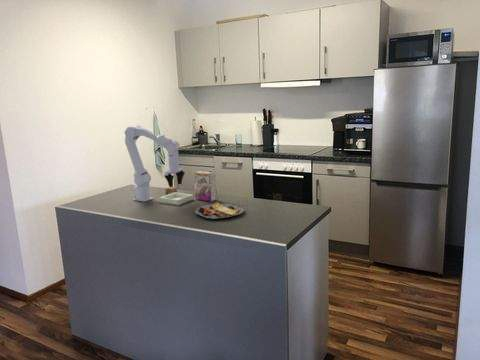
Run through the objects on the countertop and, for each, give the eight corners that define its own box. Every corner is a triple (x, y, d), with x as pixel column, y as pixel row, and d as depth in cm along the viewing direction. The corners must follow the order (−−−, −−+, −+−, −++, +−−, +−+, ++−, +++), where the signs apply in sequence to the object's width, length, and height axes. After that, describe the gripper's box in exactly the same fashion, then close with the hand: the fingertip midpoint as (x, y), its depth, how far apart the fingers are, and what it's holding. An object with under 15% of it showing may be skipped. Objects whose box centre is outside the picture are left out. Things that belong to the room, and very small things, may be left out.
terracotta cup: (193, 196, 242) (192, 185, 241) (199, 194, 247) (198, 183, 246) (201, 197, 239) (200, 186, 238) (207, 195, 244) (206, 184, 242)
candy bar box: (195, 199, 234) (194, 172, 231) (200, 197, 238) (199, 170, 235) (211, 201, 228) (209, 173, 225) (216, 199, 233) (214, 172, 229)
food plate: (186, 213, 208) (186, 206, 207) (222, 204, 222) (222, 198, 222) (215, 225, 189) (215, 218, 188) (251, 215, 204) (251, 208, 203)
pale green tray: (159, 202, 231) (158, 197, 230) (175, 197, 242) (175, 192, 241) (177, 205, 223) (177, 200, 222) (193, 199, 235) (193, 194, 234)
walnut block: (165, 196, 246) (165, 188, 245) (171, 194, 250) (170, 186, 249) (171, 197, 243) (171, 189, 242) (177, 195, 247) (176, 187, 246)
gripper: (170, 164, 220) (172, 188, 223) (187, 160, 232) (188, 183, 234) (161, 164, 223) (162, 187, 226) (178, 160, 235) (179, 182, 238)
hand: (175, 185), depth 231 cm, fingers open, 7 cm apart
